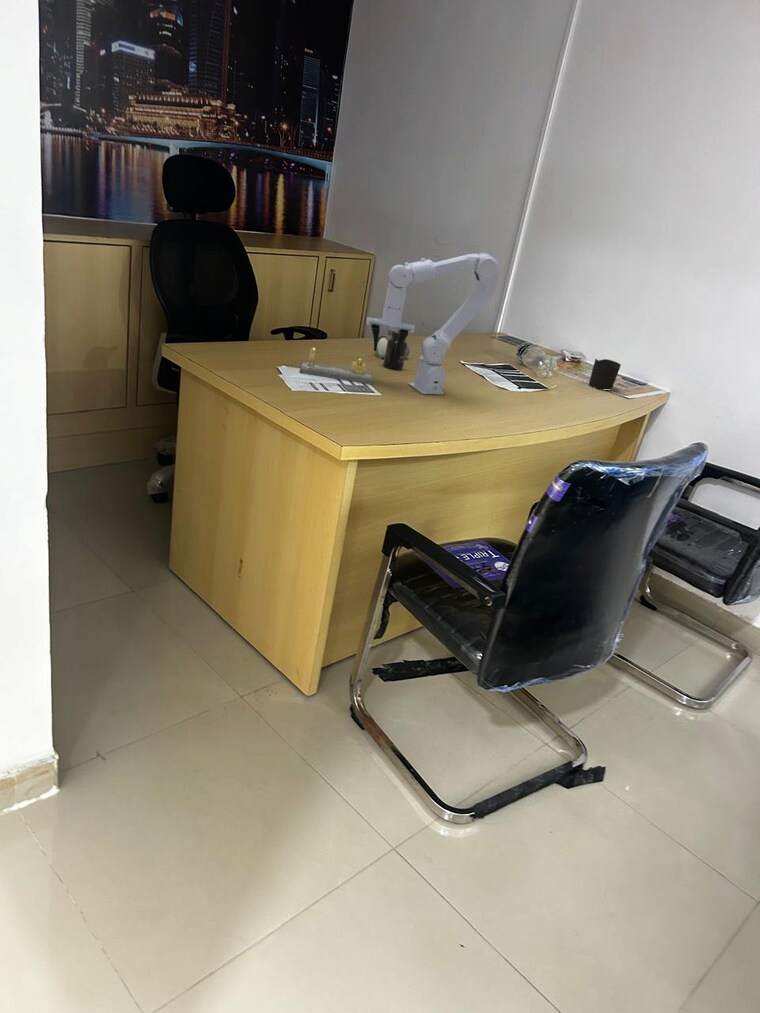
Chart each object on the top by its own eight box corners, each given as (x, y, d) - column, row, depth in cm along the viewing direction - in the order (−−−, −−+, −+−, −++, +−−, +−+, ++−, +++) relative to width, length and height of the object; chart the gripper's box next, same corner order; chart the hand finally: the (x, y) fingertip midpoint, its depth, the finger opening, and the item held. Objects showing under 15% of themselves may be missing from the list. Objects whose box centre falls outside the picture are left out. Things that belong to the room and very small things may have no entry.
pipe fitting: (385, 360, 249) (392, 330, 246) (371, 355, 254) (377, 326, 251) (411, 363, 257) (417, 334, 254) (396, 358, 262) (403, 330, 259)
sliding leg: (364, 371, 226) (366, 358, 224) (364, 377, 220) (367, 363, 218) (351, 369, 225) (353, 356, 223) (351, 375, 219) (354, 361, 217)
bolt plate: (370, 375, 229) (374, 354, 226) (371, 384, 220) (376, 362, 217) (301, 364, 227) (304, 342, 224) (300, 372, 218) (303, 349, 215)
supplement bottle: (402, 371, 241) (409, 336, 236) (382, 368, 240) (389, 332, 235) (402, 366, 247) (409, 331, 242) (383, 363, 247) (389, 328, 242)
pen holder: (613, 393, 268) (622, 367, 264) (588, 387, 269) (596, 361, 265) (611, 387, 277) (619, 362, 273) (586, 381, 278) (594, 356, 274)
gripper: (370, 305, 211) (362, 351, 217) (418, 314, 213) (409, 359, 218) (369, 301, 217) (361, 345, 223) (416, 309, 219) (407, 353, 225)
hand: (385, 351), depth 221 cm, fingers open, 6 cm apart
